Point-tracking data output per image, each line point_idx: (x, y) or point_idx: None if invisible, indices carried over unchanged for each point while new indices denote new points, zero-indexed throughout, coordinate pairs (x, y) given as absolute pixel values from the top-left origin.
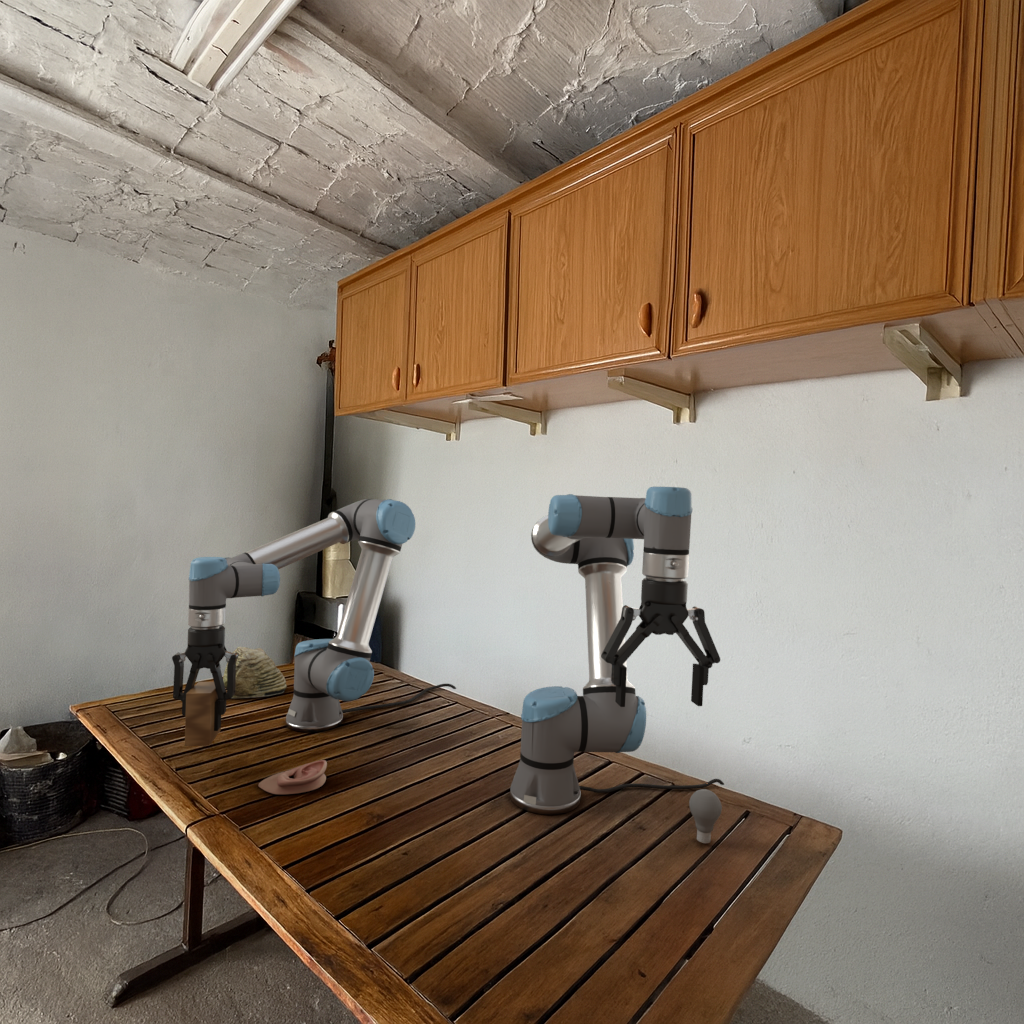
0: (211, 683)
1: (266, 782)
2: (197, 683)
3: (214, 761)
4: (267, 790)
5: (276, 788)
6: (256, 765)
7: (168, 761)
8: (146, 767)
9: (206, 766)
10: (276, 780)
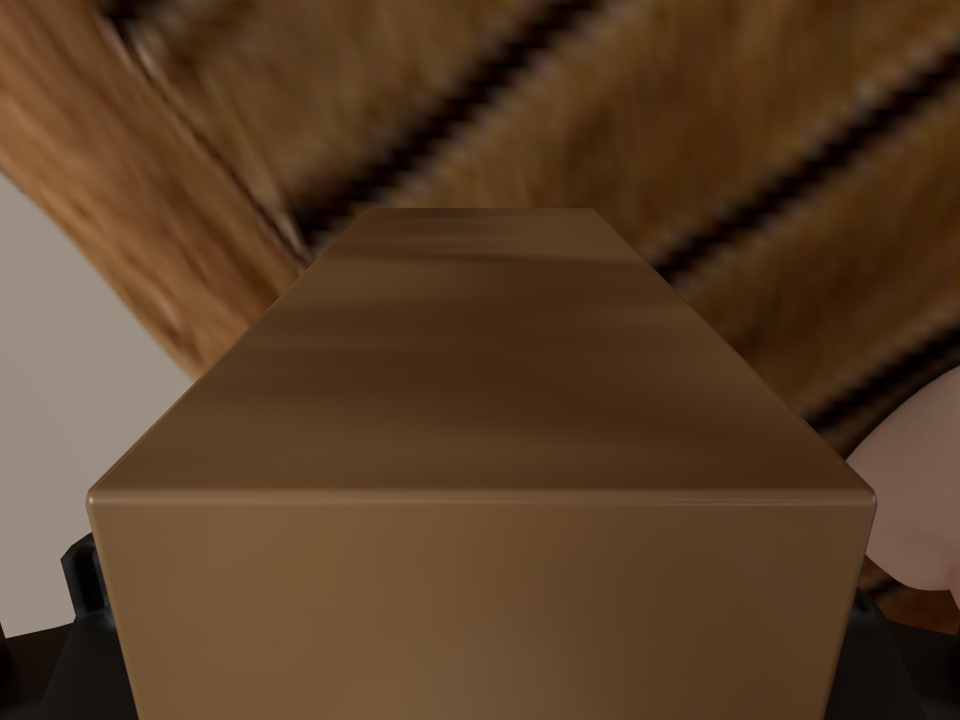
0: (569, 675)
1: (884, 527)
2: (139, 661)
3: (508, 108)
4: (879, 563)
5: (932, 584)
6: (803, 201)
7: (184, 85)
8: (89, 185)
9: (477, 195)
10: (947, 555)
